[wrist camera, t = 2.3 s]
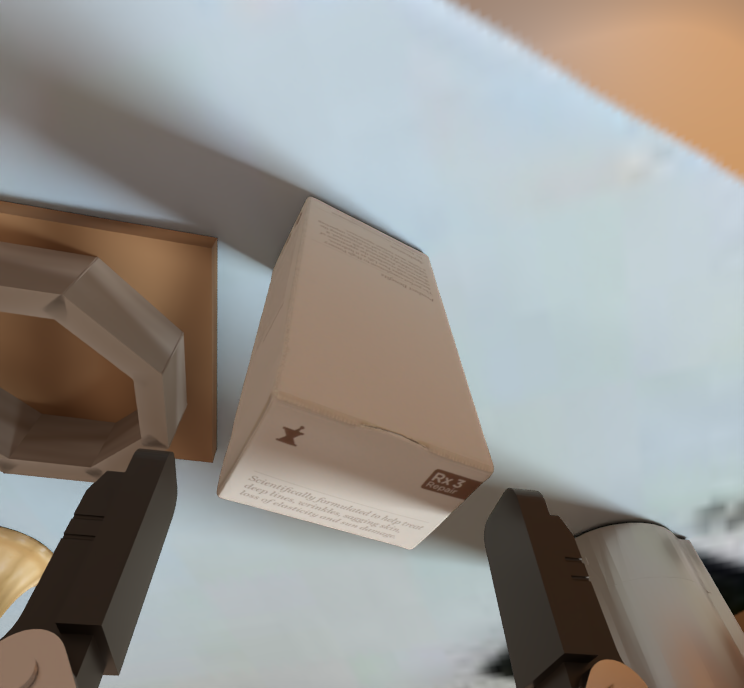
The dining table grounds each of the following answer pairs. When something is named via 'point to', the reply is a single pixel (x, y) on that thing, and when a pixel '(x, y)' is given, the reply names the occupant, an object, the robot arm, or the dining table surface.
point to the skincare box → (354, 390)
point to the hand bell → (19, 565)
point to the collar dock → (84, 368)
